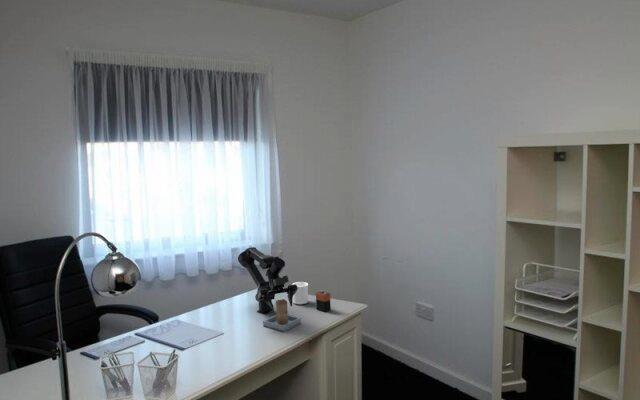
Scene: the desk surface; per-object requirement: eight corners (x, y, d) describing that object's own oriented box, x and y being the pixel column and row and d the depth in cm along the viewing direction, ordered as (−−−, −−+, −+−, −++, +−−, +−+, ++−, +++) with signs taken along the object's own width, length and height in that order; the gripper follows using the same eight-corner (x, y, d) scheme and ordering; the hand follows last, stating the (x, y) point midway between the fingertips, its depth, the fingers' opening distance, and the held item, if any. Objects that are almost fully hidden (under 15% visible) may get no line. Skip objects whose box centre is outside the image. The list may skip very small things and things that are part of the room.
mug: (309, 300, 259) (309, 281, 257) (307, 305, 250) (307, 286, 249) (290, 299, 260) (289, 281, 259) (287, 305, 251) (286, 286, 250)
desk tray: (263, 326, 223) (263, 321, 222) (280, 317, 233) (280, 313, 232) (283, 331, 215) (283, 326, 215) (300, 323, 225) (300, 318, 225)
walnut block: (276, 322, 225) (275, 300, 224) (284, 321, 227) (284, 299, 225) (279, 325, 221) (278, 303, 220) (287, 324, 223) (287, 301, 221)
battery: (321, 307, 247) (321, 288, 245) (331, 310, 242) (330, 291, 241) (315, 309, 244) (315, 290, 242) (325, 312, 239) (324, 293, 238)
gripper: (258, 273, 221) (266, 302, 212) (295, 268, 228) (304, 296, 220) (254, 284, 229) (262, 313, 220) (290, 279, 236) (299, 307, 228)
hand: (282, 307), depth 222 cm, fingers open, 9 cm apart
